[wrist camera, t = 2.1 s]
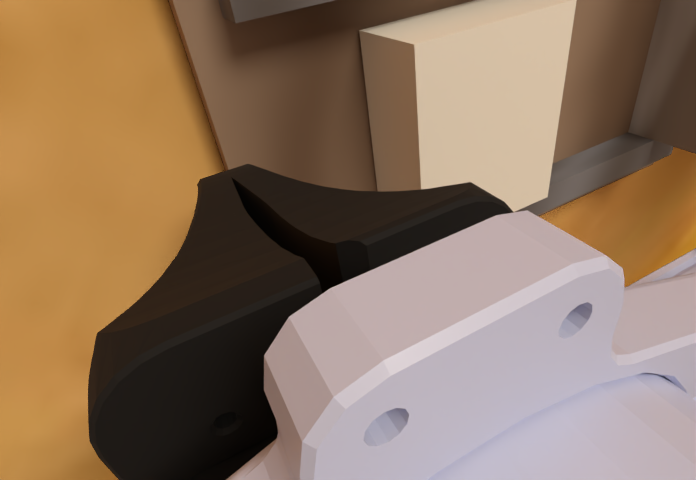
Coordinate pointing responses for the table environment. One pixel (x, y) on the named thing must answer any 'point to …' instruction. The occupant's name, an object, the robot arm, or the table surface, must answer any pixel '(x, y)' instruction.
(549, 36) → the block
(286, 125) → the brown and grey tray
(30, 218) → the table surface
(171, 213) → the table surface
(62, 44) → the table surface
